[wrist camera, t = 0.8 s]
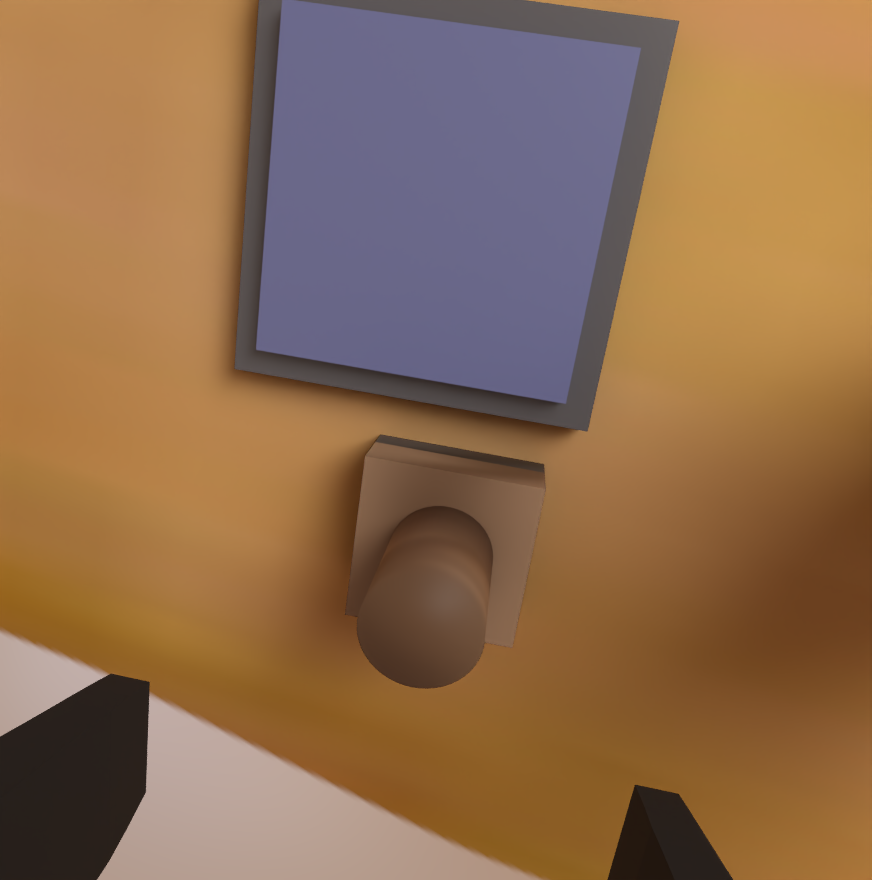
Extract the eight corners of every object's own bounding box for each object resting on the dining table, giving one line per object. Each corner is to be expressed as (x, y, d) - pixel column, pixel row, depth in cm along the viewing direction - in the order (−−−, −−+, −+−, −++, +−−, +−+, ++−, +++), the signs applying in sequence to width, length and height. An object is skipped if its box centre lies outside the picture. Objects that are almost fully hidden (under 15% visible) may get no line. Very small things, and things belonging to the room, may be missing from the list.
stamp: (543, 463, 19) (550, 555, 14) (513, 608, 20) (509, 745, 15) (381, 433, 19) (325, 512, 14) (362, 578, 21) (303, 702, 15)
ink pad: (671, 31, 16) (684, 14, 14) (584, 422, 18) (589, 437, 17) (273, -23, 16) (252, -44, 15) (246, 362, 19) (226, 372, 18)
